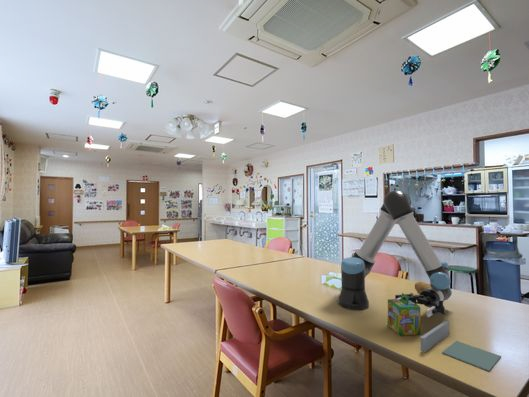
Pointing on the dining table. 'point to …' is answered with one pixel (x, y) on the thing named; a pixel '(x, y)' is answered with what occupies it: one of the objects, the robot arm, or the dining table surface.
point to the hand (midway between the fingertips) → (409, 308)
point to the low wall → (434, 336)
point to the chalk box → (404, 316)
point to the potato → (421, 286)
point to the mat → (472, 355)
